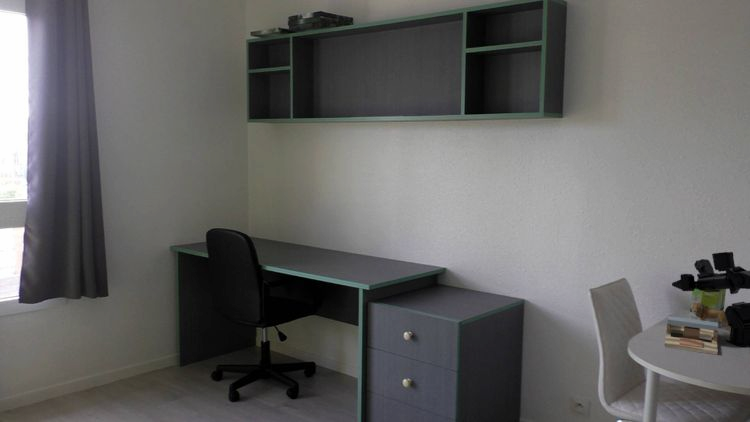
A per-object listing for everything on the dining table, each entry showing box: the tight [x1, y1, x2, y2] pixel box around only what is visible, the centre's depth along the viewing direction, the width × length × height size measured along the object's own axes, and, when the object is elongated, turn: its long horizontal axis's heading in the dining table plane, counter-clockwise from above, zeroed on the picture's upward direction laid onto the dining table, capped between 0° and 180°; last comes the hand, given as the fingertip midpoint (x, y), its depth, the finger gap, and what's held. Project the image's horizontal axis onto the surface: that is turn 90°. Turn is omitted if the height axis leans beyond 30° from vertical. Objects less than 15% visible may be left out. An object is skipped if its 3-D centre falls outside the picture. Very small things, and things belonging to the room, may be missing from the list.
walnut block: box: [682, 326, 701, 340], centre depth 228 cm, size 5×5×4 cm
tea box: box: [688, 289, 727, 324], centre depth 253 cm, size 15×10×15 cm, turn 143°
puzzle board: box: [664, 314, 719, 356], centre depth 227 cm, size 26×16×5 cm, turn 153°
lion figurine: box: [691, 302, 730, 331], centre depth 244 cm, size 15×5×9 cm, turn 70°
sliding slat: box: [666, 315, 719, 332], centre depth 228 cm, size 5×16×2 cm, turn 63°
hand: (680, 284), depth 244 cm, fingers open, 9 cm apart
